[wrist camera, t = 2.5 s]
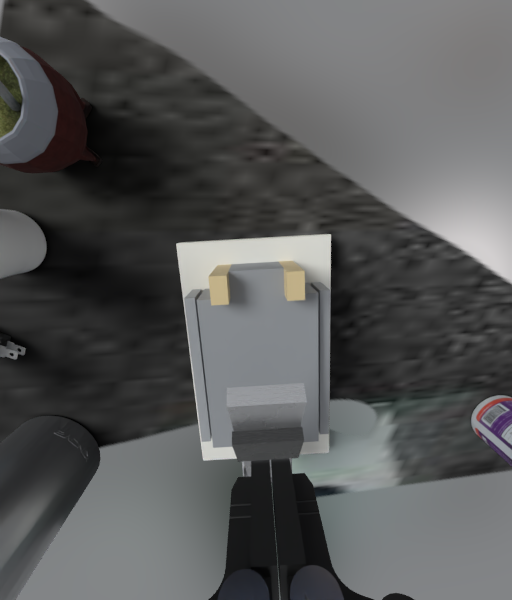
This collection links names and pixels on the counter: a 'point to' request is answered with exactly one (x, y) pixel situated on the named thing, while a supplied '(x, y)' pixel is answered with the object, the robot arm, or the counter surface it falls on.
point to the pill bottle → (495, 424)
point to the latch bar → (266, 422)
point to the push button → (9, 347)
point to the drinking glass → (20, 243)
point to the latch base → (258, 328)
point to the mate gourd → (39, 115)
